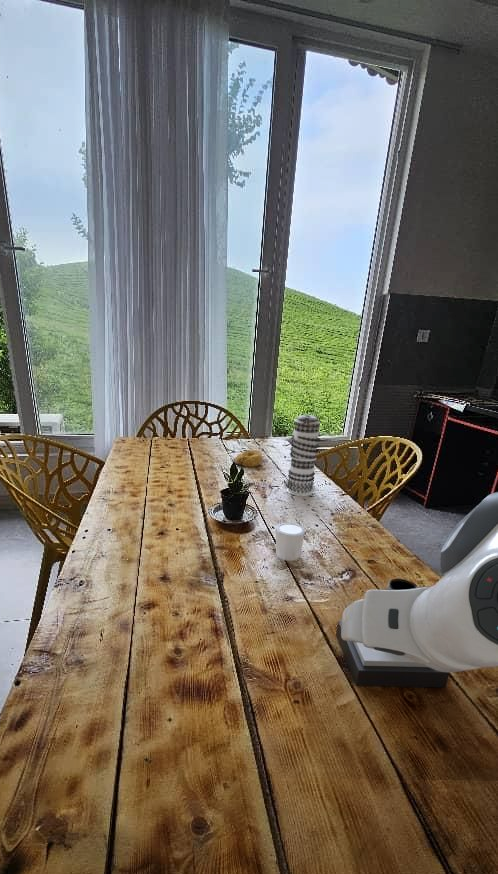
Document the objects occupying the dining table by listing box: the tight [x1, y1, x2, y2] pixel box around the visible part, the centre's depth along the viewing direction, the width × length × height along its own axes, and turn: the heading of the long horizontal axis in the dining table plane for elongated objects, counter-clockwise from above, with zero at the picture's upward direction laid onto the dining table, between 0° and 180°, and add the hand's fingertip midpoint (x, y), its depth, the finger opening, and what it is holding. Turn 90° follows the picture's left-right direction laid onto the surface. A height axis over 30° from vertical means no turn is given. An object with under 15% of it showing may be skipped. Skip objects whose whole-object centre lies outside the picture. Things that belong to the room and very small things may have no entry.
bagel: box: [233, 449, 263, 468], centre depth 173 cm, size 10×11×5 cm
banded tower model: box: [286, 414, 322, 497], centre depth 143 cm, size 9×9×25 cm
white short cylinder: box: [275, 522, 306, 562], centre depth 105 cm, size 7×7×7 cm
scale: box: [335, 620, 451, 688], centre depth 73 cm, size 14×12×4 cm
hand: (410, 642), depth 61 cm, fingers open, 8 cm apart
